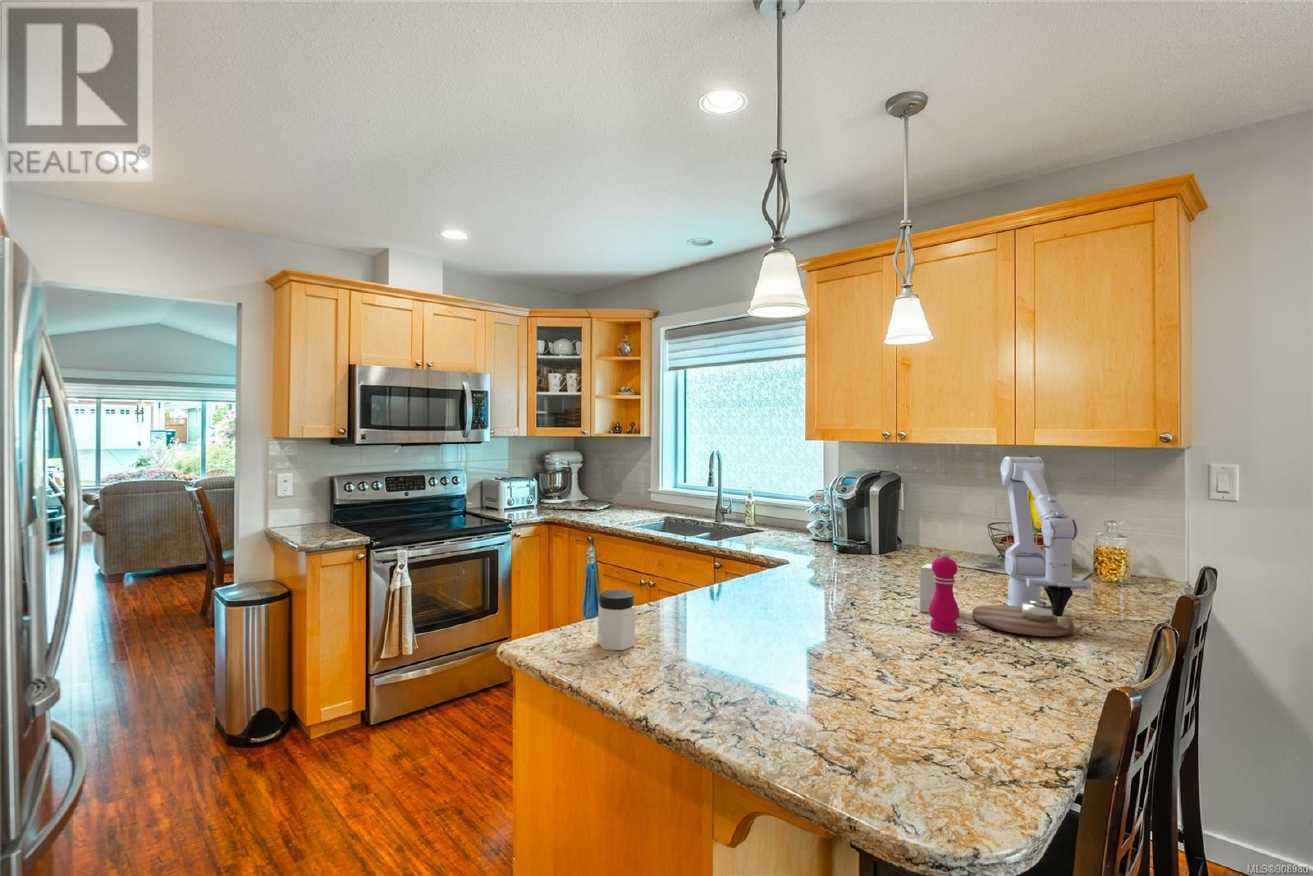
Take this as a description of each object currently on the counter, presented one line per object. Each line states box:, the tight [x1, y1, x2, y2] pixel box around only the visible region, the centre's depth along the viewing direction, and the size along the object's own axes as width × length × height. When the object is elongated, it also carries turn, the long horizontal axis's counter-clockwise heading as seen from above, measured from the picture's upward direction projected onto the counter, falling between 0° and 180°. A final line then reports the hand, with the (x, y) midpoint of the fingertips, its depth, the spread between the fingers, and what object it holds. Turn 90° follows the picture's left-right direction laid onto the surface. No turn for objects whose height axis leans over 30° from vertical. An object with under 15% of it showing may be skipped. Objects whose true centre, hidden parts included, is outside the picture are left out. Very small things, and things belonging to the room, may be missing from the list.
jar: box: [597, 589, 636, 651], centre depth 144 cm, size 9×8×12 cm
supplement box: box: [919, 563, 936, 614], centre depth 175 cm, size 7×7×13 cm
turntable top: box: [971, 604, 1075, 637], centre depth 162 cm, size 23×23×4 cm
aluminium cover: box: [1022, 599, 1053, 623], centre depth 161 cm, size 7×7×4 cm
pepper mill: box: [928, 551, 960, 633], centre depth 158 cm, size 7×7×20 cm
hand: (1057, 615), depth 160 cm, fingers closed
